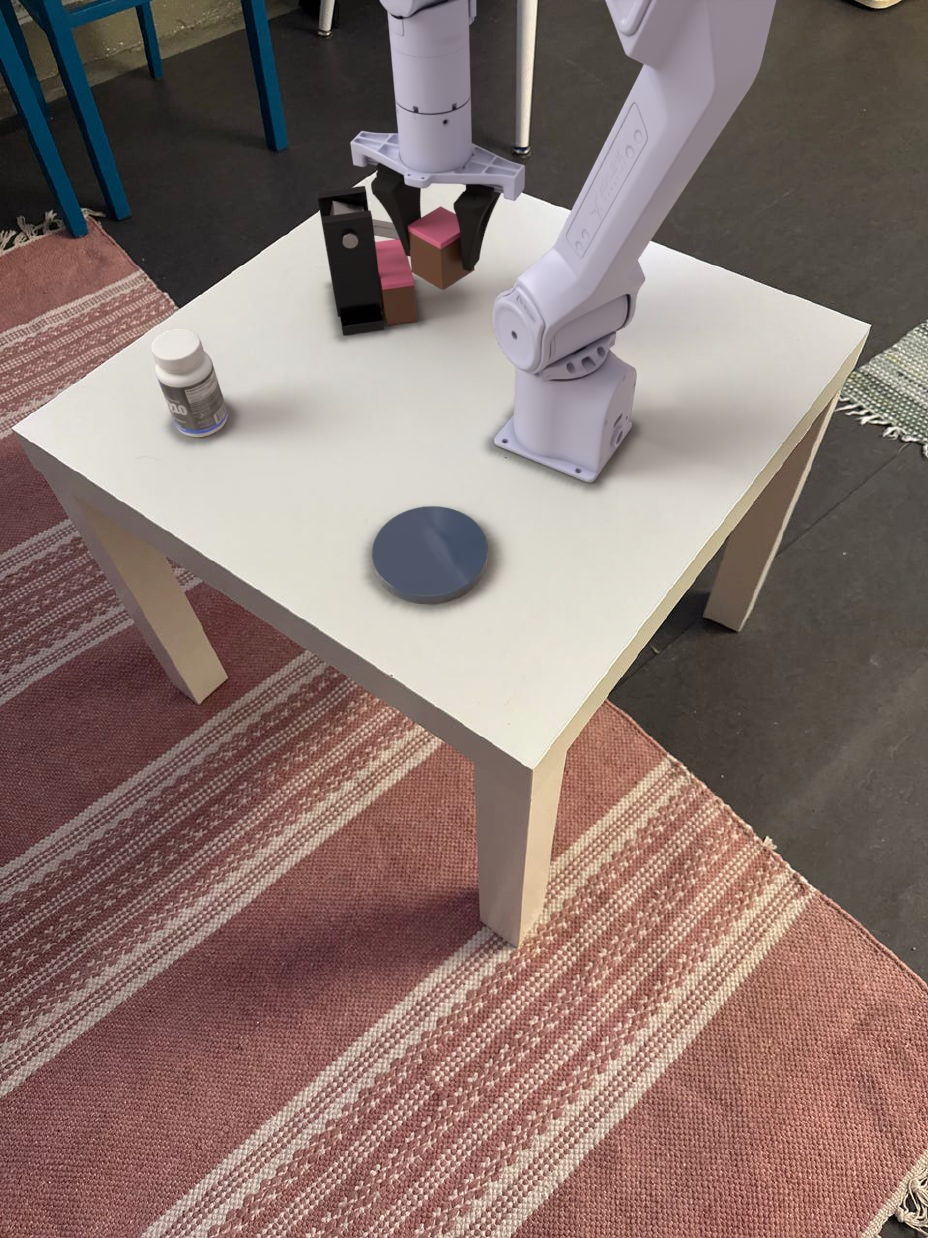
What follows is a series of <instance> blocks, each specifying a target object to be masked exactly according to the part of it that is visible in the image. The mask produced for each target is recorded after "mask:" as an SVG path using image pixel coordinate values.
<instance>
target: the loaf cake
mask: <svg viewBox="0 0 928 1238" xmlns="http://www.w3.org/2000/svg"><path fill="white" fill-rule="evenodd" d="M375 245H376V253H377V262H378V270H379V278H380V287H381V295H382V304H383V315H384V318H385V325H386V326H387V327H388V326H396V325H402V324H409V323H416V322H418V311H417V300H416V289H415V288H416V287H415V280H414V279H415V278H414V274H413V273H412V271H411V262H410V260H409V256H406V255H405V252H404V249H403V247H402V244H401V241H400V240H397V239H386V240H380V241H375Z"/></svg>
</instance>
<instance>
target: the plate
mask: <svg viewBox="0 0 928 1238" xmlns="http://www.w3.org/2000/svg"><path fill="white" fill-rule="evenodd" d="M371 558H372V564H373V570H374V573H375V575H376V577H377V579H378V581H379V582H380V584H381V585H382V586H383V587H384V588H385V589H386V590H387V591H388V592H389V593H390V594H392V595H394V596H396V597H398V598H399V599H401V600H404V601H407V602H411V603H416V604H424V605H431V604H432V605H433V604H440V603H441V604H442V603H445V602H449V601H452V600H455V599H457V598H459V597H462V596H463V595H465V594H466V593H468V592H470V591H471V590H472V589H473V588H474V587H475V586H477V584H478V583H479V582H480V581H481V580H482V578H483V576H484V574H485V572H486V570H487V566H488V561H489V560H488V559H489V547H488V541H487V538H486V535H485V533H484V531H483V530H482V528H481V526H480V525H479V523H477V522H476V521H475V520H474V519H473V518H471V517H470V516H469V515H467V514H465V513H464V512H461V511H460V510H456V509H454V508H451V507H445V506H440V505H439V506H438V505H429V506H428V505H427V506H419V507H415V508H410V509H408V510H405V511H403V512H401V513H399V514H397V515H395V516H394V517H392V518H391V519H389V520H388V521H387V522H386V523H385V524H384V525H383V526H382V527H381V528H380V529H379V531H378V533H377V534H376V536H375V538H374V541H373V544H372V547H371Z"/></svg>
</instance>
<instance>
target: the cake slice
mask: <svg viewBox="0 0 928 1238" xmlns="http://www.w3.org/2000/svg"><path fill="white" fill-rule="evenodd" d="M408 236H409V246H410V257H409V258H410V267H411V271H412V274H413V275H416V276H417V277H419V278H420V279H422V280H424V281H426V282H427V283H429V284H431V285H432V286H434V287H436V288H438V289H440V290H441V291H445V290H446V289H448V288H449V287H452V286H453V285H454V284H456V283H457V282H459V281H460V280H462V279H463V278H465V277H466V276H468V275H469V274H472V272H474V271H476V270H475V269H476V268H475V266H476V265H475V266H474V268H473V269H472V270H471V271H466V270H463V266H462V260H461V235H460V229H459V224H458V220H457V216H456V214H455V212H453V211H450V210H448V209H447V208H445V207H444V206H441V205H440V206H438V207H436V208H435V209H433V210H432V211H430V212H428V213H427V214H425V215H424V216H421V218H420V219H418V220H417V221H415V222H413V223H412V224H410V225H408Z"/></svg>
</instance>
